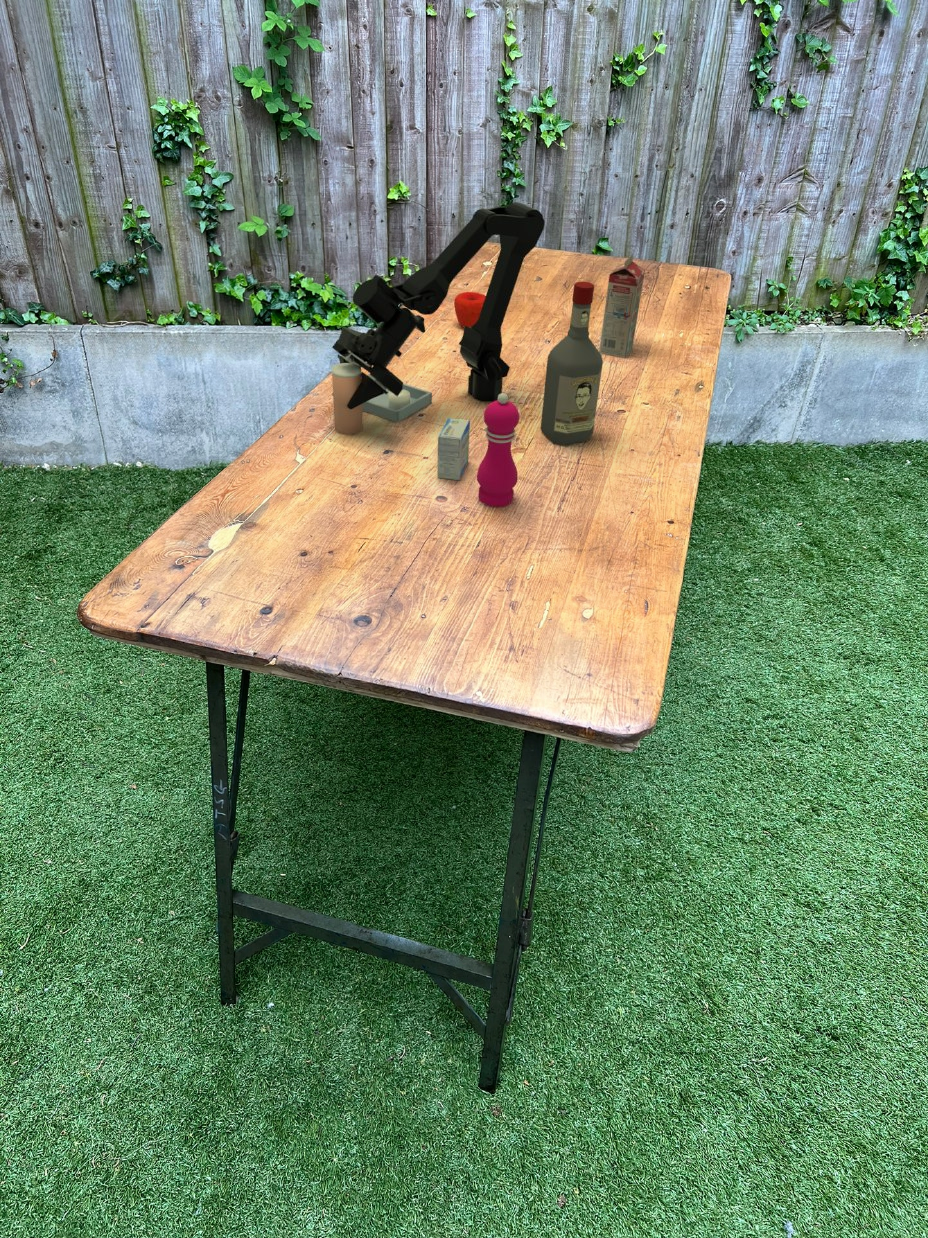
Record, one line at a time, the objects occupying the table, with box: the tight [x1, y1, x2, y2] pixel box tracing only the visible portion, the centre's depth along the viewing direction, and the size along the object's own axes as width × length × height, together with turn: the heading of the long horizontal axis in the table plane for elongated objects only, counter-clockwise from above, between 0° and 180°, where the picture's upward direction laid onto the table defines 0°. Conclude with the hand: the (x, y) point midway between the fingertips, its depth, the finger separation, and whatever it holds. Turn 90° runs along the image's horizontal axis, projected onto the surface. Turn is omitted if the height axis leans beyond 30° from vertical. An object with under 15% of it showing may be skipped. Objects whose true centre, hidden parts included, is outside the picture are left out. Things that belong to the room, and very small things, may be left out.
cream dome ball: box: [389, 389, 410, 410], centre depth 189 cm, size 4×4×3 cm
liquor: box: [540, 281, 604, 447], centre depth 176 cm, size 9×9×30 cm
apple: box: [453, 291, 486, 328], centre depth 228 cm, size 9×9×8 cm
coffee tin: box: [331, 363, 364, 436], centre depth 178 cm, size 6×6×13 cm
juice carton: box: [598, 253, 645, 359], centre depth 215 cm, size 7×7×22 cm
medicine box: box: [436, 417, 471, 481], centre depth 169 cm, size 8×4×9 cm, turn 168°
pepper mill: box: [476, 392, 520, 508], centre depth 158 cm, size 7×7×20 cm
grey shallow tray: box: [362, 373, 433, 424], centre depth 191 cm, size 16×12×3 cm
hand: (341, 402), depth 177 cm, fingers closed on coffee tin, 5 cm apart
